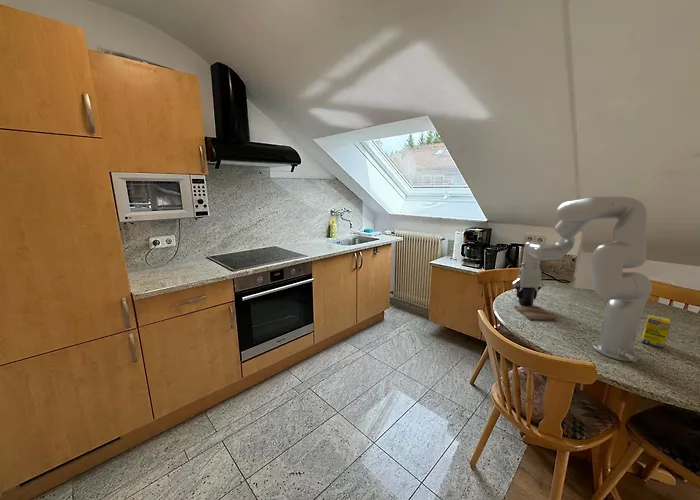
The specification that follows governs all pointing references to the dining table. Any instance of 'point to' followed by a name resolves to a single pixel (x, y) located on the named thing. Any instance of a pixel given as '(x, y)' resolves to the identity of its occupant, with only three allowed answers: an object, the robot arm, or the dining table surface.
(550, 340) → the dining table surface
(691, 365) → the dining table surface
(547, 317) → the walnut board
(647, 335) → the supplement box
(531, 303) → the supplement bottle
